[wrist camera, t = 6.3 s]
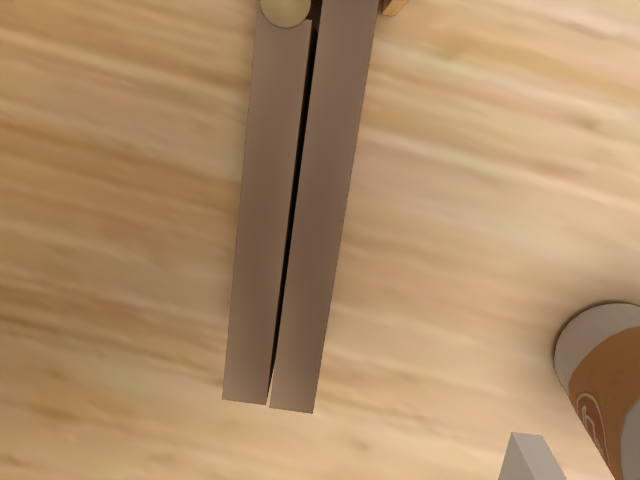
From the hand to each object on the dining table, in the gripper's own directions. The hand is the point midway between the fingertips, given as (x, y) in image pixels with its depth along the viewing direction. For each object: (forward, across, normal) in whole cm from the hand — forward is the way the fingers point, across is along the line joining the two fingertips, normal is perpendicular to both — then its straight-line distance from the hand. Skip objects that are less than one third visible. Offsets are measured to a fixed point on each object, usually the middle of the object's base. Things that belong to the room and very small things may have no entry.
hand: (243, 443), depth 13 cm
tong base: (+17, 0, +5) cm, 17 cm away
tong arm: (+17, -1, +3) cm, 17 cm away
